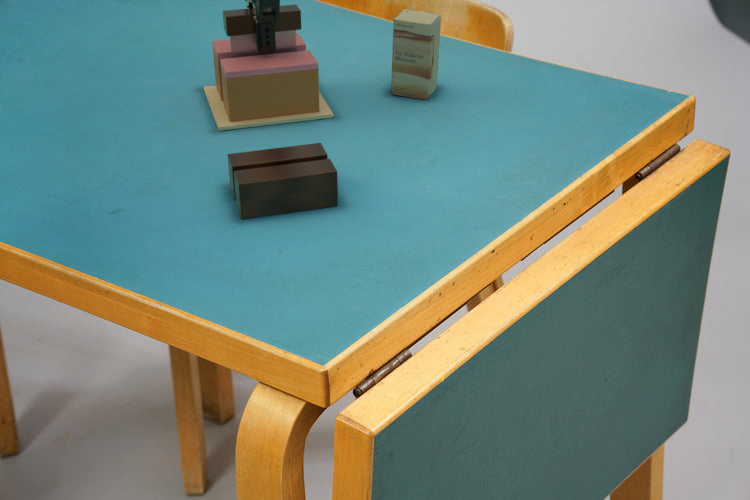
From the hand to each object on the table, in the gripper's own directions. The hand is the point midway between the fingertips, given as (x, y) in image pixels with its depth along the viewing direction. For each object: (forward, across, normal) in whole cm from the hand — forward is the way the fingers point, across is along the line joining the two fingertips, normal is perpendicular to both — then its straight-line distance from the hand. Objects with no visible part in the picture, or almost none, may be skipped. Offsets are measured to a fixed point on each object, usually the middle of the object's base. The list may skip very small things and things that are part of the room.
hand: (263, 45), depth 119 cm
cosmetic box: (+8, +2, +19) cm, 21 cm away
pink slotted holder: (+8, 0, 0) cm, 8 cm away
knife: (+7, 0, 0) cm, 7 cm away
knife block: (+7, +24, -3) cm, 26 cm away
